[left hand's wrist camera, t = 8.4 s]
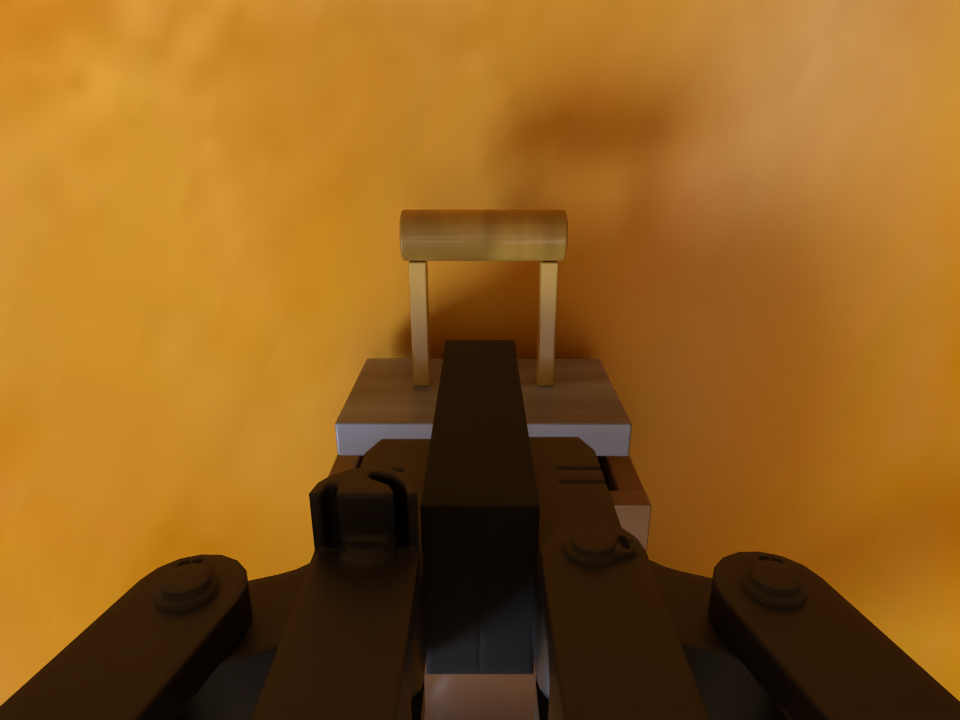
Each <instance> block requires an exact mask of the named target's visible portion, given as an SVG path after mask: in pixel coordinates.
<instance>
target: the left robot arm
mask: <svg viewBox="0 0 960 720" xmlns="http://www.w3.org/2000/svg"><path fill="white" fill-rule="evenodd" d="M309 498H310V508H311V517H312V527H313V536H314V546H315V552H314V554H313V557H312V560H311V562H310V563H309V564H307V565H305V566H303V567H300V568H298V569H296V570H293V571H289V572H286V573H282V574H279V575H274V576H269V577H265V578H260V579H255V580H251V581H248V579H247V572H246V570H245V569H244V567H243V566H242V565H241V564H240V563H239V562H238V561H237V560H234V559H231V558H229V557H226V556H223V555H197V556H192V557H186V558H182V559H178V560H176V561H173V562H171V563H169V564H166V565H164V566H161V567H159V568H157V569H156V570H154V571H153V572H151V573H150V574H148V575H147V576H145V577H144V578H143V579H141V580H140V581H139V582H137V583H136V584H135V585H134V586H133V587H132V588H131V589H130V590H129V591H127V592H126V593H125V594H124V595H123V596H122V597H121V598H120V599H119V600H117V601H116V602H115V603H114V604H113V605H112V606H111V607H110V608H109V609H108V610H106V611H105V612H104V613H103V614H102V615H101V616H100V617H99V618H98V619H96V620H95V621H94V622H93V623H92V624H91V625H90V626H89V627H88V628H86V629H85V630H84V631H83V632H82V633H81V634H80V635H79V636H78V637H77V638H75V639H74V640H73V641H72V642H71V643H70V644H69V645H68V646H67V647H65V648H64V649H63V650H62V651H61V652H60V653H59V654H58V655H57V656H56V657H54V658H53V659H52V660H51V661H50V662H49V663H48V664H47V665H46V666H44V667H43V668H42V669H41V670H40V671H39V672H38V673H37V674H36V675H34V676H33V677H32V678H31V679H30V680H29V681H28V682H27V683H26V684H25V685H23V686H22V687H21V688H20V689H19V690H18V691H17V692H16V693H15V694H13V695H12V696H11V697H10V698H9V699H8V700H7V701H6V702H5V703H3V704H2V705H1V706H0V720H424V717H425V685H424V676H425V666H426V674H534V663H535V673H536V685H535V711H534V720H960V702H959V701H958V700H957V699H956V698H955V697H954V696H953V695H952V694H951V693H949V692H948V691H947V690H946V689H945V688H944V687H943V686H942V685H940V684H939V683H938V682H937V681H936V680H935V679H934V678H933V677H932V676H930V675H929V674H928V673H927V672H926V671H925V670H924V669H923V668H922V667H920V666H919V665H918V664H917V663H916V662H915V661H914V660H913V659H911V658H910V657H909V656H908V655H907V654H906V653H905V652H904V651H903V650H901V649H900V648H899V647H898V646H897V645H896V644H895V643H894V642H893V641H891V640H890V639H889V638H888V637H887V636H886V635H885V634H884V633H882V632H881V631H880V630H879V629H878V628H877V627H876V626H875V625H874V624H872V623H871V622H870V621H869V620H868V619H867V618H866V617H865V616H864V615H862V614H861V613H860V612H859V611H858V610H857V609H856V608H855V607H853V606H852V605H851V604H850V603H849V602H848V601H847V600H846V599H845V598H843V597H842V596H841V595H840V594H839V593H838V592H837V591H836V590H834V589H833V588H832V587H831V586H830V585H829V584H828V583H827V582H826V581H824V580H823V579H822V578H821V577H820V576H818V575H817V574H815V573H814V572H812V571H811V570H809V569H808V568H807V567H805V566H804V565H802V564H799V563H797V562H794V561H792V560H789V559H787V558H785V557H782V556H778V555H774V554H768V553H763V552H738V553H735V554H732V555H729V556H726V557H723V558H722V559H721V560H720V562H719V563H718V564H717V565H716V566H715V567H714V572H713V578H709V577H704V576H699V575H695V574H690V573H685V572H681V571H677V570H674V569H670V568H667V567H664V566H661V565H659V564H657V563H655V562H653V561H650V560H649V559H648V556H647V553H646V551H645V549H644V547H643V546H642V545H641V543H640V542H639V540H638V539H637V538H636V537H635V536H633V535H632V534H630V533H629V532H628V531H626V530H625V529H623V528H622V527H621V524H620V521H619V519H618V516H617V513H616V510H615V507H614V504H613V501H612V498H611V496H610V493H609V490H608V487H607V484H605V478H604V476H603V473H602V470H600V464H599V461H598V458H597V456H596V453H595V450H593V449H592V448H591V447H590V446H589V445H587V444H586V443H585V442H584V441H583V440H581V439H580V438H579V437H529V434H528V427H527V421H526V414H525V408H524V402H523V395H522V389H521V382H520V376H519V369H518V363H517V357H516V350H515V344H514V340H446V344H445V350H444V357H443V363H442V369H441V376H440V382H439V389H438V395H437V402H436V408H435V414H434V421H433V427H432V434H431V439H381V440H380V441H379V442H378V443H376V444H375V445H374V446H373V447H372V448H370V449H369V450H368V451H367V452H366V453H365V455H364V458H363V461H362V464H361V467H360V468H354V469H349V470H346V471H342V472H339V473H336V474H333V475H331V476H329V477H327V478H326V479H324V480H322V481H321V482H319V483H318V484H317V485H316V486H315V487H314V488H313V490H312V491H311V492H310V493H309Z"/></svg>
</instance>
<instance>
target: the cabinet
mask: <svg viewBox="0 0 960 720" xmlns="http://www.w3.org/2000/svg"><path fill="white" fill-rule="evenodd" d="M363 458H364V455H337V458H336V460H335V462H334V464H333V467H332V469H331V471H330V474H329V476H331V475H333V474H336V473H339V472H342V471H346V470H349V469H354V468H360V467H361V464H362V461H363ZM597 458H598V461H599V464H600V470H602V473H603V476H604V478H605V484H607V487H608V490H609V493H610V496H611V498H612V501H613V504H614V507H615V510H616V513H617V516H618V519H619V521H620V524H621V527H622V528H623V529H625V530H626V531H628V532H629V533H630V534H632V535H633V536H635V537H636V538H637V539H638V540H639V542H640V543H641V545H642V546H643V547H644V549H645V551H646V552H647V542H648V533H649V523H650V514H651V504H650V501H649V499H648V497H647V495H646V492H645V491H644V488H643V486H642V484H641V482H640V479H639V477H638V475H637V472H636V470H635V468H634V466H633V463H632V461H631V459H630V456H629V455H628V456H597ZM329 476H328V477H329ZM424 685H425V717H424V720H534V711H535V685H536V673H535V663H534V674H426V666H425V676H424Z"/></svg>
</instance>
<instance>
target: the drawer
mask: <svg viewBox="0 0 960 720" xmlns="http://www.w3.org/2000/svg"><path fill="white" fill-rule="evenodd" d="M567 241H568V222H567V214H566V211H564V210H403V211H402V212H401V216H400V249H401V256H402V258H403V260H404V261H409V288H410V314H411V340H412V359H367V360H366V362H365V364H364V366H363V368H362V370H361V372H360V374H359V376H358V378H357V380H356V382H355V384H354V387H353V389H352V391H351V393H350V395H349V397H348V399H347V401H346V403H345V405H344V407H343V409H342V411H341V413H340V415H339V417H338V419H337V421H336V423H335V429H336V440H337V452H338V455H365V453H366V452H367V451H368V450H369V449H370V448H372V447H373V446H374V445H375V444H376V443H378V442H379V441H380V440H381V439H431V434H432V427H433V421H434V414H435V408H436V402H437V395H438V389H439V382H440V376H441V369H442V363H443V359H430V336H429V301H428V265H427V261H540V270H539V301H538V332H537V359H517V363H518V369H519V376H520V382H521V389H522V395H523V402H524V408H525V414H526V421H527V427H528V434H529V437H579V438H580V439H581V440H583V441H584V442H585V443H586V444H587V445H589V446H590V447H591V448H592V449H593V450H595V453H596V456H628V455H629V451H630V440H631V428H632V424H631V422H630V420H629V418H628V416H627V414H626V412H625V410H624V408H623V406H622V404H621V402H620V399H619V397H618V395H617V393H616V391H615V389H614V387H613V385H612V383H611V381H610V379H609V377H608V375H607V373H606V371H605V369H604V367H603V365H602V363H601V361H600V359H555V337H556V313H557V290H558V266H559V264H558V261H563V260H564V259H565V257H566V252H567Z"/></svg>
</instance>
